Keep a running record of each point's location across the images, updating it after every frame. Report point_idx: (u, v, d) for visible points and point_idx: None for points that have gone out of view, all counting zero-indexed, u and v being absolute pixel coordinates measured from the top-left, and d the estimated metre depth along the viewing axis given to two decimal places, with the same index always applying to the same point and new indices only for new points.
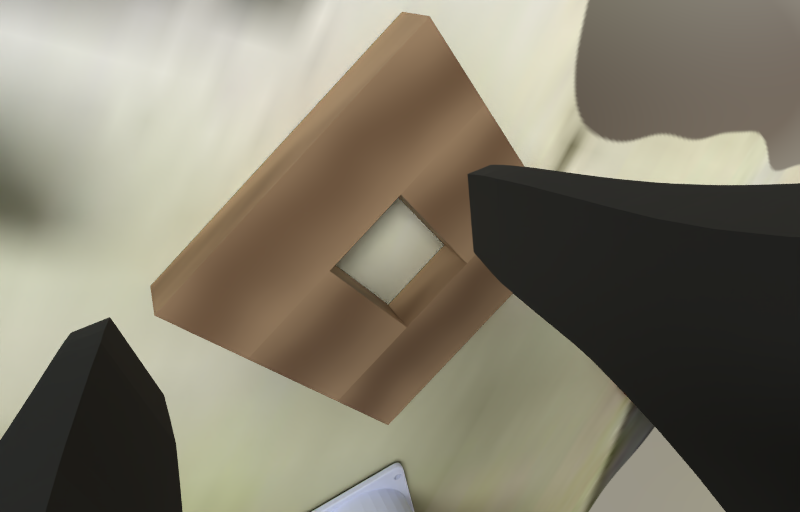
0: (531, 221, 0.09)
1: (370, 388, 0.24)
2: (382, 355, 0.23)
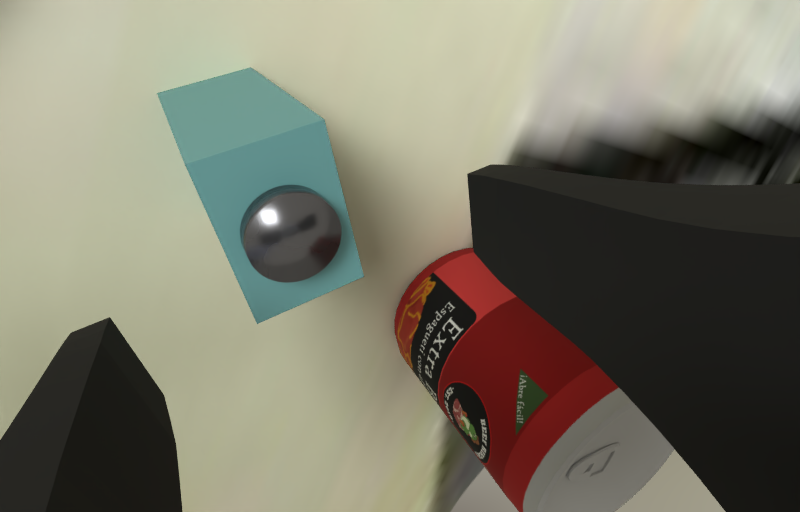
0: (531, 221, 0.09)
1: None
2: None
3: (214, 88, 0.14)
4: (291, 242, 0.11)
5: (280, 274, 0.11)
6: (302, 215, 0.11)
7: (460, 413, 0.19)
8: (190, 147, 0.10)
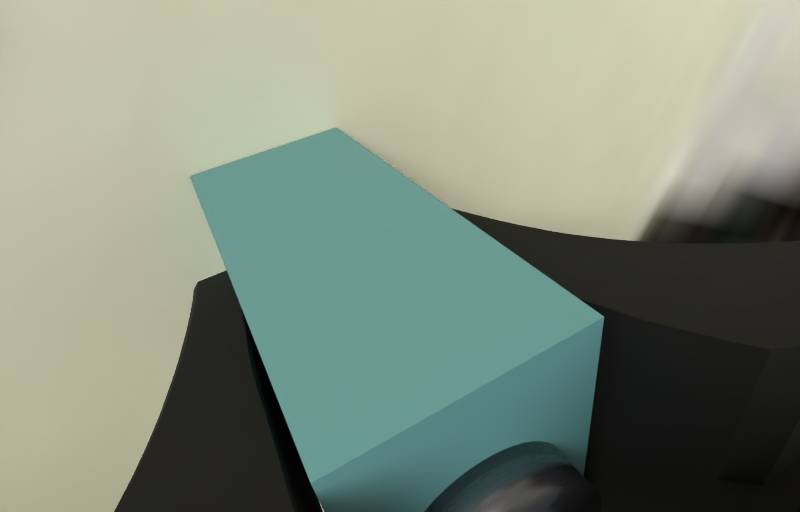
0: None
1: None
2: None
3: (290, 174, 0.08)
4: None
5: None
6: None
7: None
8: (300, 389, 0.04)
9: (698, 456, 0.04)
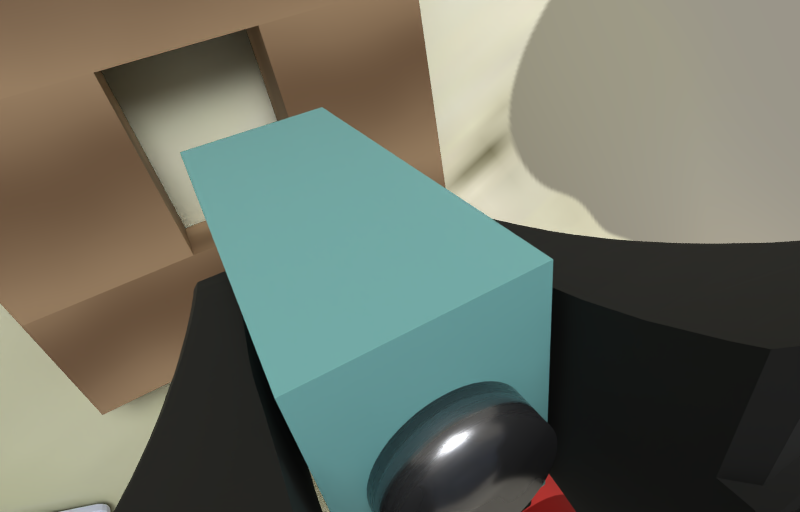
0: None
1: (93, 330, 0.15)
2: (136, 282, 0.14)
3: (274, 148, 0.09)
4: (472, 502, 0.05)
5: None
6: (501, 455, 0.05)
7: None
8: (271, 325, 0.05)
9: (698, 456, 0.04)
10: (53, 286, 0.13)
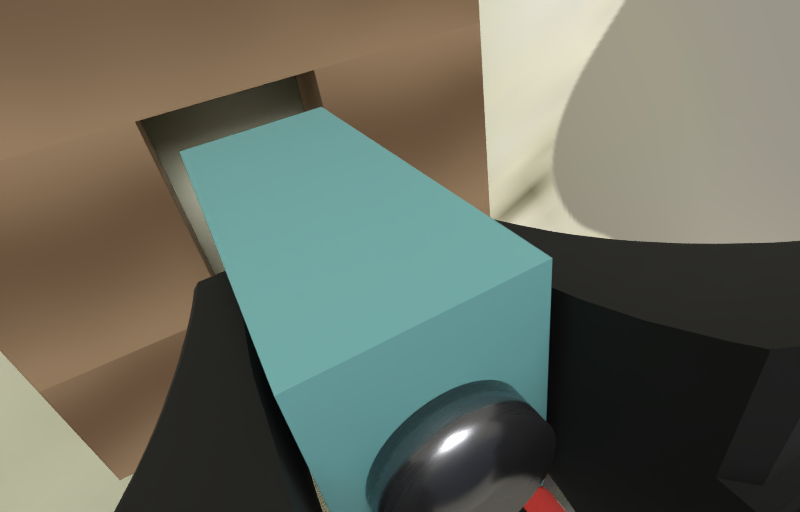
0: None
1: (116, 393, 0.13)
2: (165, 341, 0.13)
3: (274, 147, 0.09)
4: (471, 501, 0.05)
5: None
6: (500, 454, 0.05)
7: None
8: (270, 323, 0.05)
9: (698, 456, 0.04)
10: (76, 349, 0.12)
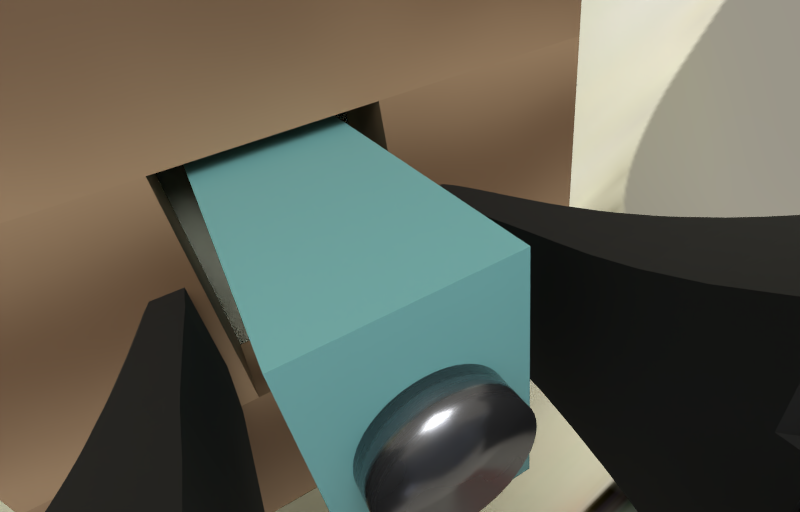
0: None
1: None
2: None
3: (269, 142, 0.09)
4: (453, 479, 0.05)
5: None
6: (480, 434, 0.05)
7: None
8: (261, 307, 0.05)
9: (756, 413, 0.05)
10: (67, 460, 0.09)
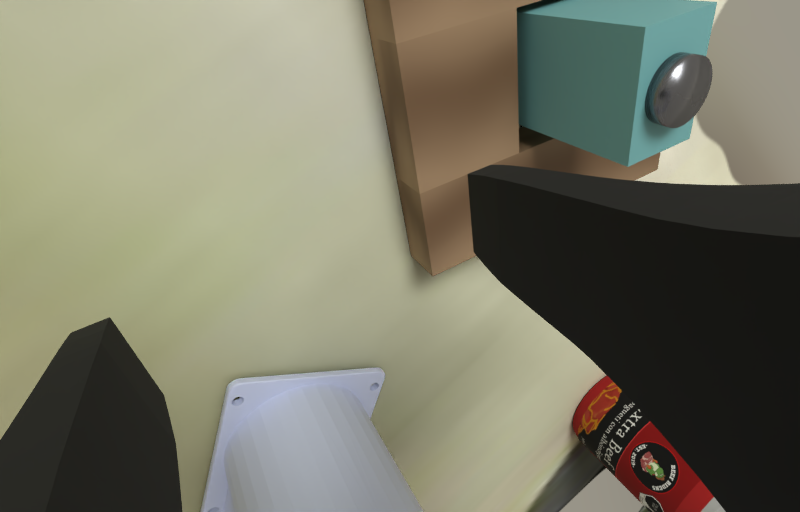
0: (531, 220, 0.09)
1: (451, 204, 0.20)
2: None
3: (550, 2, 0.18)
4: (684, 94, 0.15)
5: (670, 120, 0.15)
6: (697, 72, 0.15)
7: (650, 460, 0.33)
8: (625, 22, 0.14)
9: None
10: (445, 165, 0.19)
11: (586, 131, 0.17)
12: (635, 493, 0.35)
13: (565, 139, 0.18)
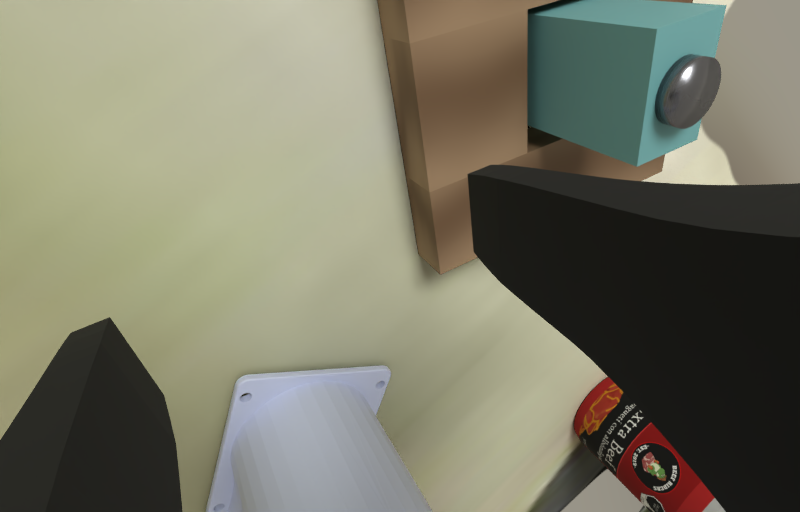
0: (531, 221, 0.09)
1: (460, 203, 0.20)
2: None
3: (560, 4, 0.19)
4: (694, 95, 0.15)
5: (679, 120, 0.15)
6: (706, 74, 0.15)
7: (651, 461, 0.34)
8: (636, 24, 0.15)
9: None
10: (454, 164, 0.19)
11: (595, 131, 0.17)
12: (636, 494, 0.35)
13: (574, 139, 0.19)
